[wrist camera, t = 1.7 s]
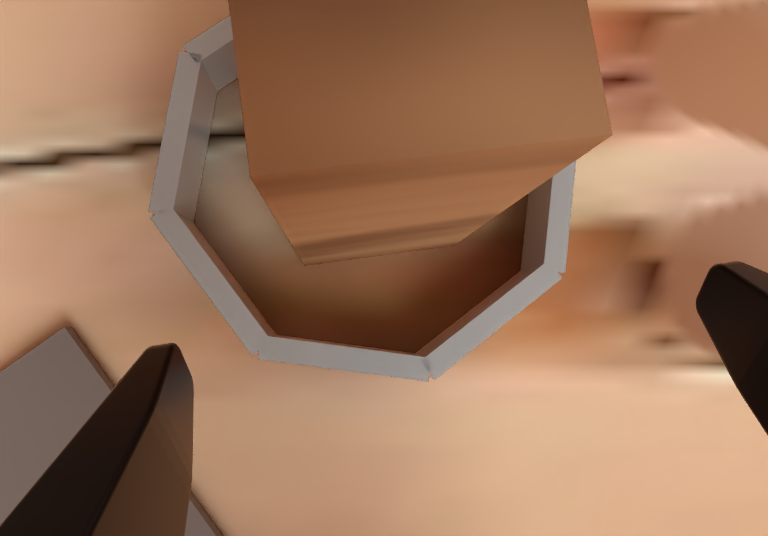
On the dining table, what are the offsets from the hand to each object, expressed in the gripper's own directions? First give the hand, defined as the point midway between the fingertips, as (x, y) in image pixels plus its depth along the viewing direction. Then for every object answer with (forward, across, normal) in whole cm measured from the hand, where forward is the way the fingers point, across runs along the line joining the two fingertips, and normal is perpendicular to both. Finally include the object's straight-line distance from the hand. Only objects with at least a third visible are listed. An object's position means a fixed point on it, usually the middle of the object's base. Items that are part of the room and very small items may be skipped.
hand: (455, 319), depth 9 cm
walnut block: (+12, 0, +4) cm, 13 cm away
